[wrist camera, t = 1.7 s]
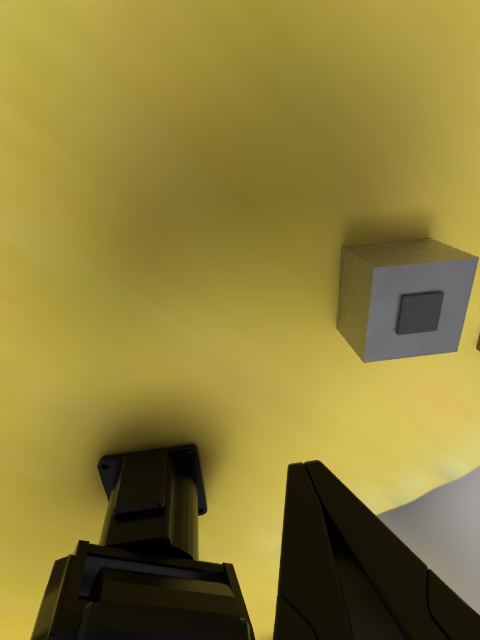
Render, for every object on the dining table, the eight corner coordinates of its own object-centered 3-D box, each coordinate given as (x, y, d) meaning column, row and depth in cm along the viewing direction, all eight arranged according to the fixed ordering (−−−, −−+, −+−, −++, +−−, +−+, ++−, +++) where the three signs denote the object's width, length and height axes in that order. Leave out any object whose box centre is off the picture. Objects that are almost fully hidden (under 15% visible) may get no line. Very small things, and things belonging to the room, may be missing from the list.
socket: (414, 318, 22) (459, 353, 19) (335, 327, 22) (365, 364, 18) (428, 237, 20) (482, 258, 17) (340, 245, 20) (375, 269, 16)
